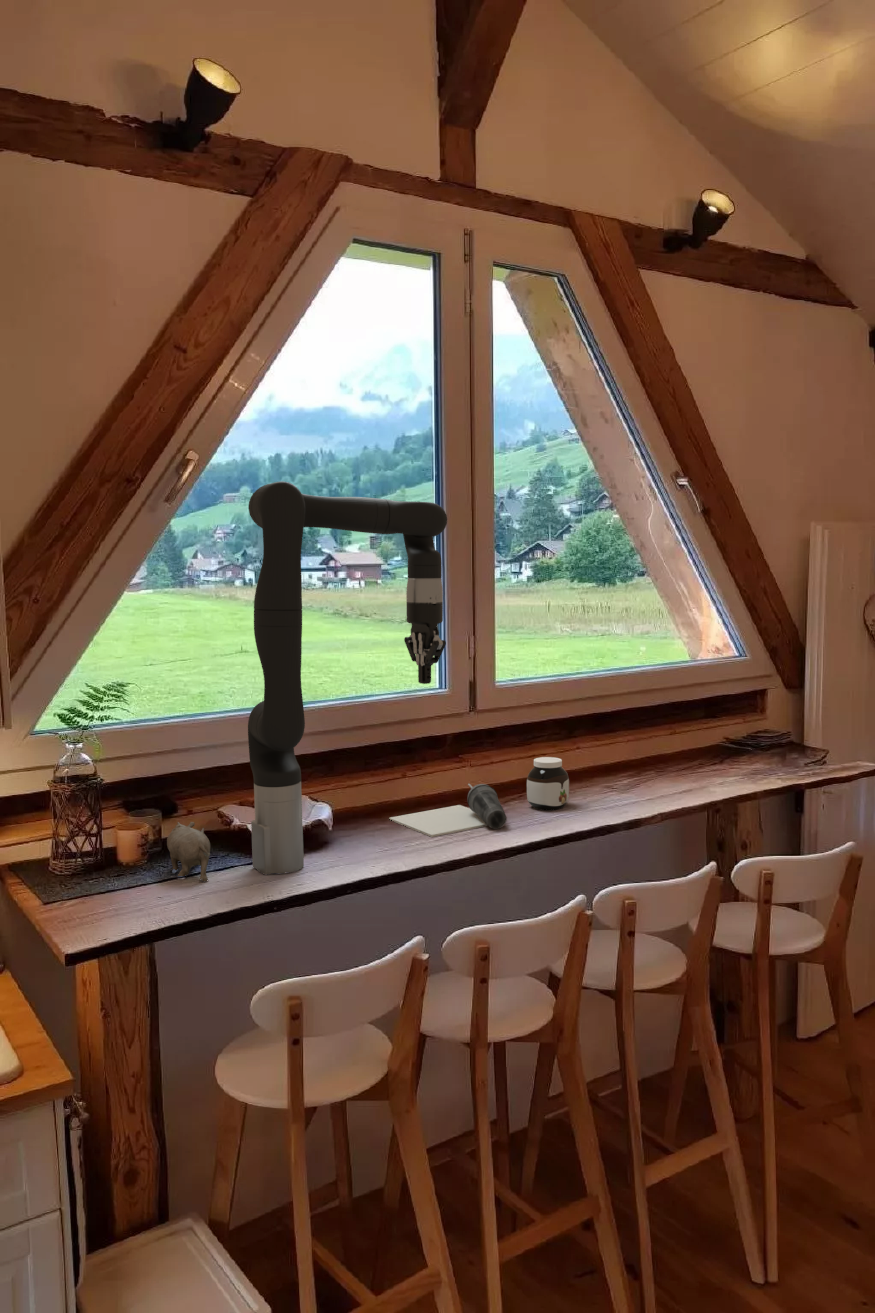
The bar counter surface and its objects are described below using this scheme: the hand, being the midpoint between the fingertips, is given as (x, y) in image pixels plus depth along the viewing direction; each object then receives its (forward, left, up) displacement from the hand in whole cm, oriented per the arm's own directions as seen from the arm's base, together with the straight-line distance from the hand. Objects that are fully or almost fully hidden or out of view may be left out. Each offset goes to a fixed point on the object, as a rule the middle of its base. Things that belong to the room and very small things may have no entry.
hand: (424, 683), depth 210 cm
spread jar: (+42, +11, -35) cm, 56 cm away
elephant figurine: (-47, +13, -35) cm, 60 cm away
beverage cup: (+19, 0, -32) cm, 37 cm away
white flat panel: (+14, +13, -35) cm, 40 cm away
